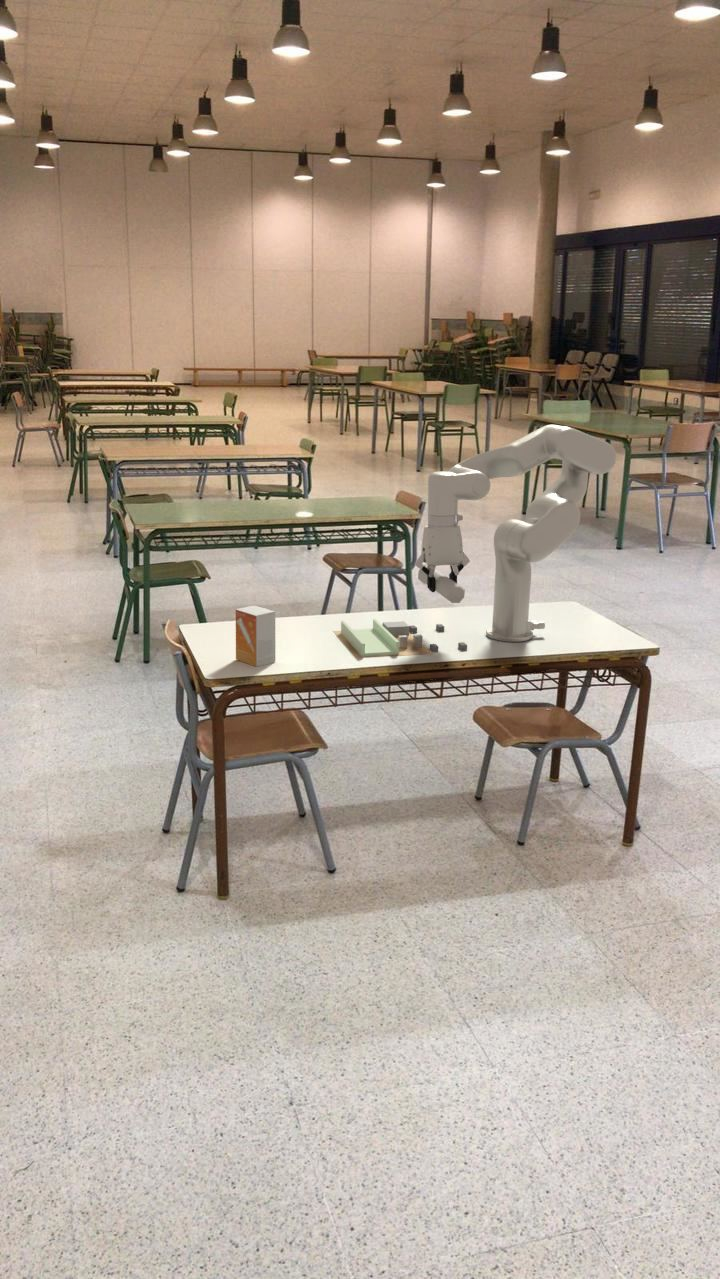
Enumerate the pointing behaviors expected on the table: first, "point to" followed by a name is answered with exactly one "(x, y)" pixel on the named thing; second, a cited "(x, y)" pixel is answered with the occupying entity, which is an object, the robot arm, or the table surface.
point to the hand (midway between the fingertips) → (442, 589)
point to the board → (402, 652)
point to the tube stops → (433, 646)
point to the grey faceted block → (397, 628)
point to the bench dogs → (416, 640)
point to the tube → (444, 586)
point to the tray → (371, 640)
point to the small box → (255, 635)
